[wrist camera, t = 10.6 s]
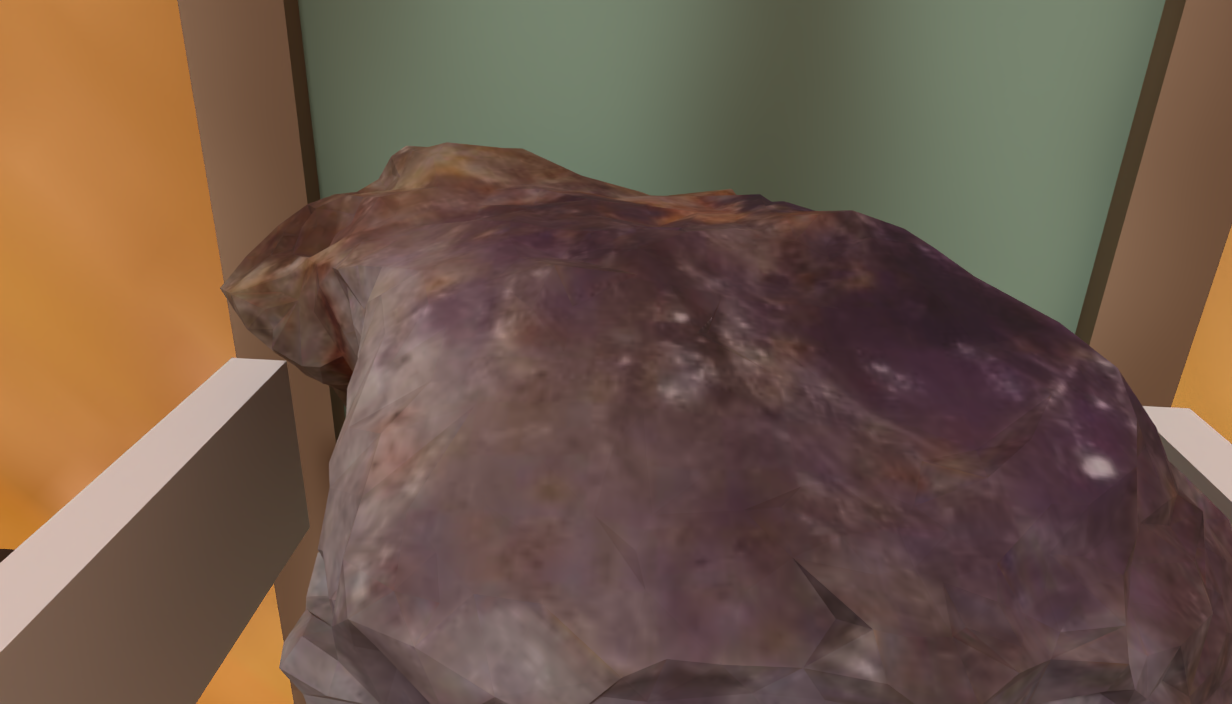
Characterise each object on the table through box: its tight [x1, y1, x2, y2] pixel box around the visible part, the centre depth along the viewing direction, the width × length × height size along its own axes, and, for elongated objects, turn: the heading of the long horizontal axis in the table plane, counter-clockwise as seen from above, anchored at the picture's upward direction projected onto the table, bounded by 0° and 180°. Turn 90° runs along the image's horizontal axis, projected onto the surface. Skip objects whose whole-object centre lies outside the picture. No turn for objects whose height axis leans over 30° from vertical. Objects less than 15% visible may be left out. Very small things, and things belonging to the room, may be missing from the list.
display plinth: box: [177, 0, 1232, 704], centre depth 16 cm, size 15×17×4 cm
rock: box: [220, 142, 1232, 704], centre depth 10 cm, size 12×9×10 cm
